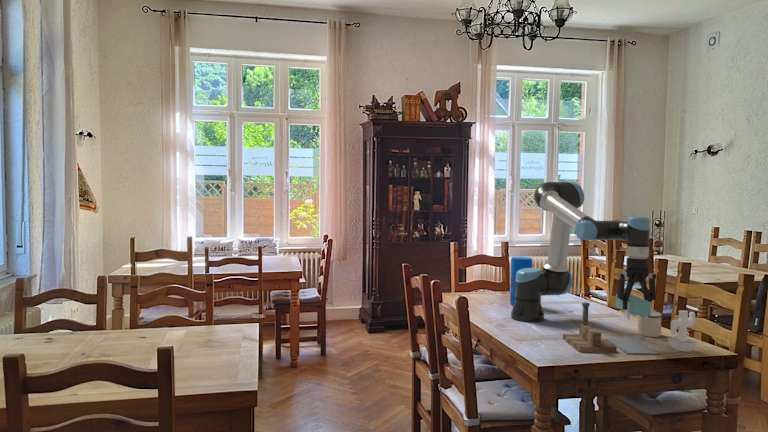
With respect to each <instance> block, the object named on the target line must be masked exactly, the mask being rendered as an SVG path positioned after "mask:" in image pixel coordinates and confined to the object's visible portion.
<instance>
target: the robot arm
mask: <svg viewBox="0 0 768 432" xmlns="http://www.w3.org/2000/svg"><path fill="white" fill-rule="evenodd" d="M533 197H534V198H533V199H534V202H535V204H536V205H537V206H538V207H539V209H542V210H543V211H546V212H550V213H551V214H552V222H551V223H552V224H551V229H550V237H549V238H550V239H549V245H548V251H547V260H546V263H545V264H543V266H542V269H541V268H539V267H532V268H524V269H520V270H518V271H517V273H516V279H515V281H516V290H515V303H514V306H512V309H511V312H510V318H511V319H512V320H515V321H521V322H528V323H529V322H530V323H537V322H542V321H544V320H545V313H544V309H543V306H542V296H561V295H565V294H567V293H569V292H570V291H571V289H572V287H573V278H572V277H573V276H572V273H571V272H570V271H569V270H570V269H569V267H568V266H567V261H568V253H569V245H570V238H571V237H570V236H571V232H572V231H571V230H572V229H573V230H574V233H575V235H576V237H577V238H578V239H579V240H580V241H617V240H618V241H626V242H627V244H626V256H627V258H626V270H625V272H622V273H621V272H618V274H617V275H618V289H617V294H618V298H619V299H621V300H622V301H623V307H622V308H623V309H624V310H625V311H624V310H623V311H624V318H625V319H627V320H630V319H631V318H630V317H631V316H630V315H631V314H630V302H629V301H628V299H629V296H630V294H631V293H632V290H633V287H634V285H635V284H636V283H639V284H640V287H641V291H642V292H641V293H642V295H643V299H644V300H647V301H649V302H651V303H652V302H653V301H656V297H657V294H656V279H657V274H656V273H652V272H650V271H649V265H650V264H649V263H650V260H649V256H650V234H651V233H650V232H651V231H650V230H651V227H650V226H651V225H650V218H649V217H647V216H629V217H628V218H627V221H626V220H617V219H616V220H615V219H613V220H595V219H594V218H592V217H591V216H590V215H587V214H586V213H584V212H583V211H581V210H580V209H579V208H581V207H582V206H583V205H584V202H585V192H584V190H583V189H582V187H581V185H580V184H578V183H576V182H571V181H547V182H543V183H541V184H540V185H538V186H537V187H536V188H535V191H534V195H533ZM571 228H572V229H571ZM626 278H628V279H627V284H626ZM647 278H648V284H647ZM625 285H626V287H625ZM642 318H644V319H647V318H648V316H642Z"/></svg>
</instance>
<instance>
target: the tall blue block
mask: <svg viewBox="0 0 768 432" xmlns="http://www.w3.org/2000/svg"><path fill="white" fill-rule="evenodd" d="M524 268H533V258H531V257H527V256H513V257H511V258H510V284H509V304H511V305H512V306H511V305H510V306H511V307H513V306H514V303H515V290H516V281H515V279H516V273H517V271H518V270H520V269H524Z"/></svg>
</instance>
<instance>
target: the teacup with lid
mask: <svg viewBox="0 0 768 432" xmlns="http://www.w3.org/2000/svg"><path fill="white" fill-rule="evenodd" d="M637 317H638V318H637V333H638V335H639V336H642V337H648V338H659V337H661V333H662V317H663V315H662V313H660V312H659V311H656V310H655V309H653V307H652V306H651V316H648V318H647V319H644V318H642V316H637Z"/></svg>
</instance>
